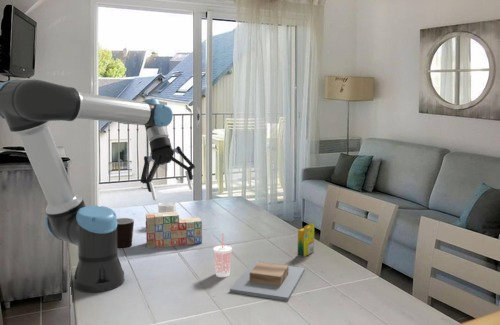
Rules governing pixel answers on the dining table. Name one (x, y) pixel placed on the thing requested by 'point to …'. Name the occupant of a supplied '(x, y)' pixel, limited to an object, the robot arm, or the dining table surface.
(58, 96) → the robot arm
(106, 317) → the dining table surface
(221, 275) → the beverage cup
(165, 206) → the white cup
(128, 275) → the dining table surface
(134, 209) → the dining table surface
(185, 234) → the stack of blocks
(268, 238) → the dining table surface
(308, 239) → the crayon box
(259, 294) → the base board
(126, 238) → the coffee mug
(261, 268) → the walnut pedestal
